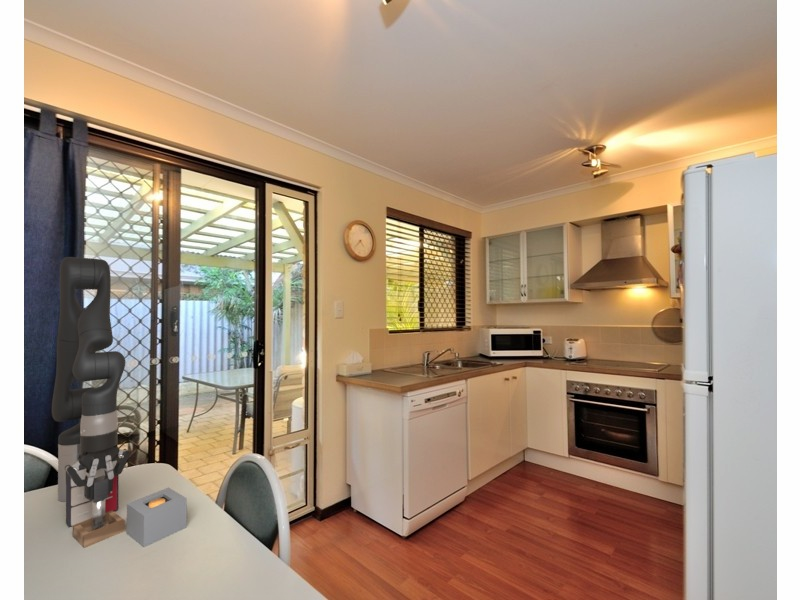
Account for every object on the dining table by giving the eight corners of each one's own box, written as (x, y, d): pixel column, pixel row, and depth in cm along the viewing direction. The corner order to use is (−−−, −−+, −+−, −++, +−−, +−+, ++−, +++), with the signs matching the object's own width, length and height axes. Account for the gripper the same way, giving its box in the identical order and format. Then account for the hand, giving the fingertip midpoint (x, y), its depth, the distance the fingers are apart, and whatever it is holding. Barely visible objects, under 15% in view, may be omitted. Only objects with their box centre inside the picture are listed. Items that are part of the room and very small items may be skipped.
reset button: (146, 522, 97) (146, 502, 97) (161, 515, 100) (161, 496, 100) (152, 526, 95) (152, 507, 95) (167, 519, 98) (167, 500, 98)
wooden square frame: (72, 537, 95) (72, 525, 95) (112, 521, 102) (112, 510, 102) (84, 549, 90) (84, 537, 90) (124, 531, 97) (124, 520, 97)
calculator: (68, 529, 98) (69, 472, 98) (65, 523, 101) (65, 468, 101) (119, 511, 107) (119, 458, 107) (114, 506, 109) (115, 454, 109)
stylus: (89, 526, 96) (89, 479, 96) (103, 520, 98) (104, 475, 98) (93, 530, 94) (94, 482, 94) (108, 524, 96) (108, 478, 96)
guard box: (126, 534, 96) (126, 503, 96) (168, 516, 104) (168, 487, 104) (143, 549, 90) (143, 515, 90) (186, 528, 98) (186, 497, 98)
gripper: (125, 419, 104) (124, 481, 104) (59, 434, 92) (58, 503, 92) (136, 424, 100) (136, 489, 100) (68, 441, 88) (68, 513, 88)
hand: (98, 495), depth 96 cm, fingers closed on stylus, 3 cm apart
